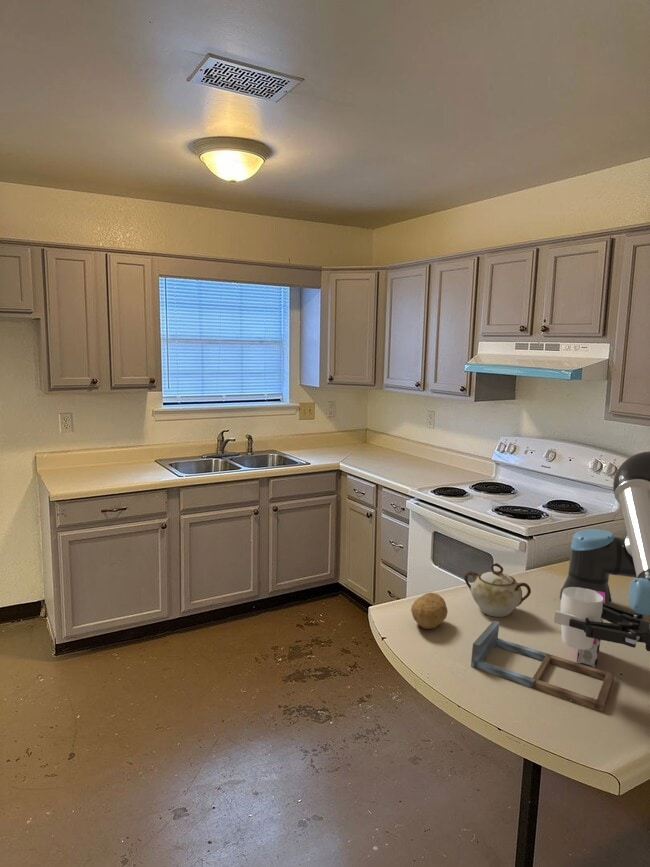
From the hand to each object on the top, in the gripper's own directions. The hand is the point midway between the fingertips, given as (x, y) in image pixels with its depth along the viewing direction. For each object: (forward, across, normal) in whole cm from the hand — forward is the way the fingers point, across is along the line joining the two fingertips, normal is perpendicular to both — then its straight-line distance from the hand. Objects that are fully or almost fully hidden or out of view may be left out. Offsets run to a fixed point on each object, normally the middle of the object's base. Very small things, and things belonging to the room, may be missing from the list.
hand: (559, 609), depth 141 cm
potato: (+35, +6, -18) cm, 40 cm away
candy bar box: (-5, +16, -18) cm, 24 cm away
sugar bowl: (+23, +28, -18) cm, 40 cm away
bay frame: (+2, 0, -17) cm, 17 cm away
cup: (-5, 0, -7) cm, 9 cm away
